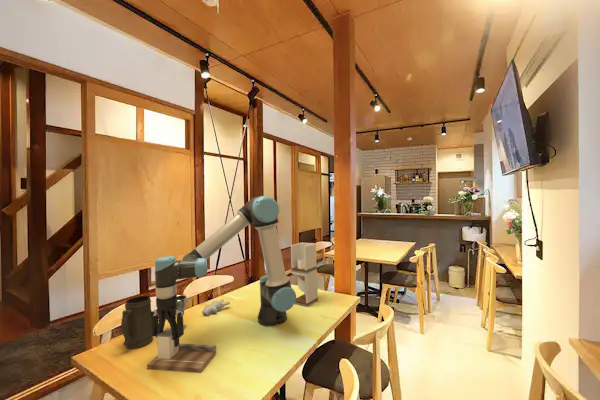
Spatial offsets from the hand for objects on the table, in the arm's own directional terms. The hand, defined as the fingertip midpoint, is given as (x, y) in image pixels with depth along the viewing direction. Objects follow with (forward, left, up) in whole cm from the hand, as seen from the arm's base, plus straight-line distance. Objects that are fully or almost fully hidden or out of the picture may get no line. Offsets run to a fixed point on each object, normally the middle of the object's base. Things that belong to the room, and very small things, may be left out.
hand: (168, 353), depth 108 cm
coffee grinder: (-47, -63, -2) cm, 79 cm away
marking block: (0, 0, 0) cm, 0 cm away
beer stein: (+21, -8, -2) cm, 23 cm away
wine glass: (+12, -25, -2) cm, 28 cm away
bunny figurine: (+3, -46, -2) cm, 46 cm away
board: (-7, +1, -2) cm, 7 cm away
